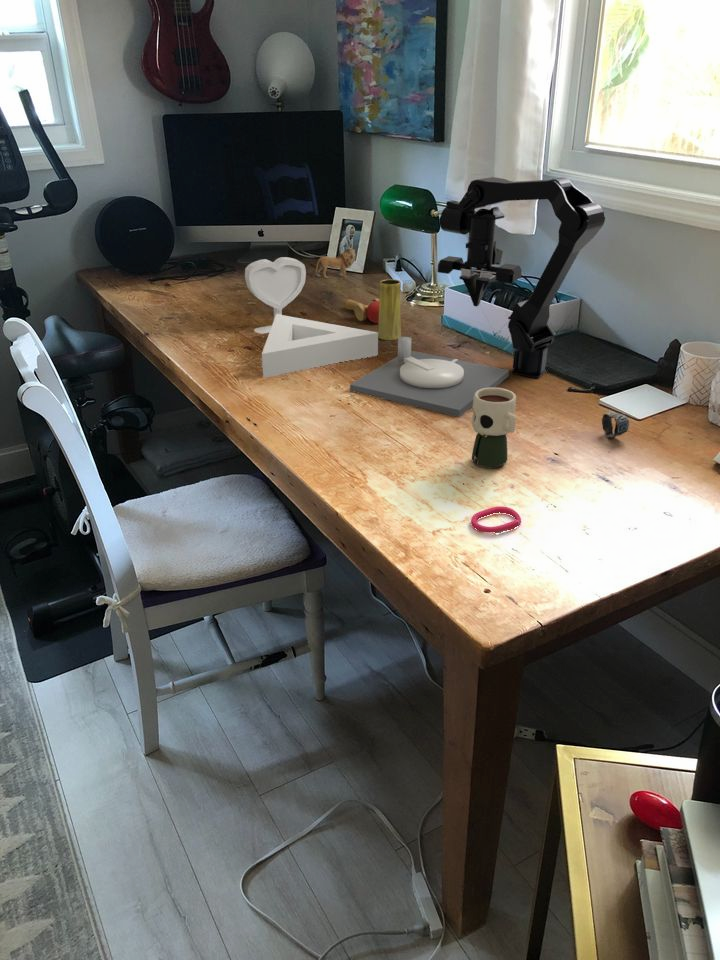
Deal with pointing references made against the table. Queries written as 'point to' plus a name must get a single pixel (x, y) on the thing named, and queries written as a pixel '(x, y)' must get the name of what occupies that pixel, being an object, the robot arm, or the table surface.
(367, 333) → the triangle block
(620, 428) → the wristwatch
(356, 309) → the kendama
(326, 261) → the lion figurine
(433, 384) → the dial
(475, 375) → the dial plate
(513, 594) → the table surface
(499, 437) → the character mug
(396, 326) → the vase
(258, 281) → the heart sculpture
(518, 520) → the fitness band
